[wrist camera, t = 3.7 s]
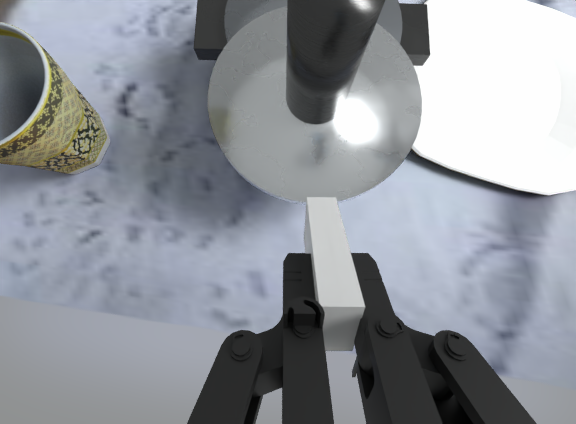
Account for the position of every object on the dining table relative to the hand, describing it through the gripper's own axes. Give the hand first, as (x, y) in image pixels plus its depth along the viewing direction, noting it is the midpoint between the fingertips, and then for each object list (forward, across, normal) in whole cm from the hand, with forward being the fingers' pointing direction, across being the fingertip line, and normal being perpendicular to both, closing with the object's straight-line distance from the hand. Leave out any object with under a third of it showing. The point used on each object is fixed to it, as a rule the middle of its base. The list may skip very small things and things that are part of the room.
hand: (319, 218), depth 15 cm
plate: (+21, -21, -2) cm, 30 cm away
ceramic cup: (+17, +24, +2) cm, 29 cm away
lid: (+11, 0, -3) cm, 11 cm away
